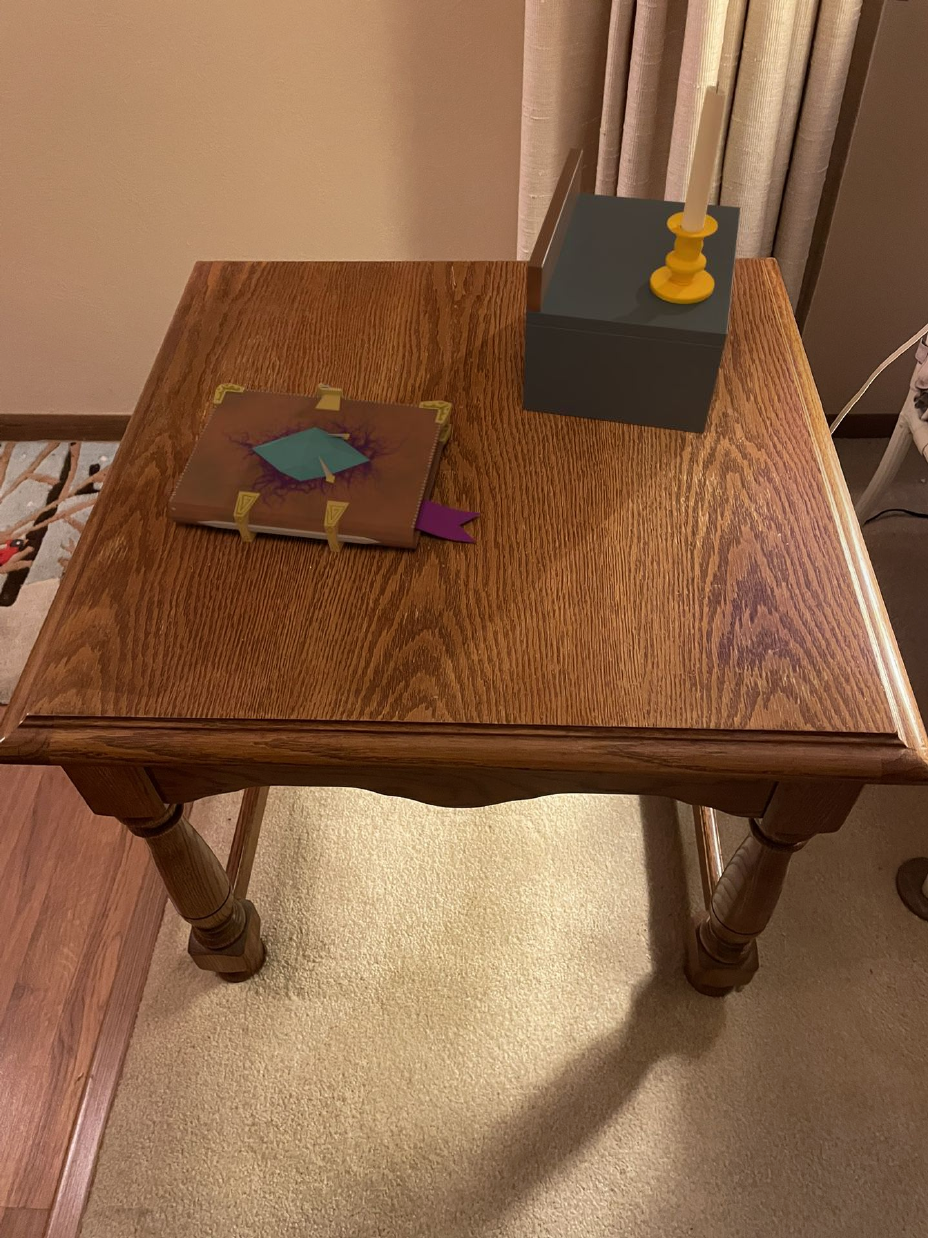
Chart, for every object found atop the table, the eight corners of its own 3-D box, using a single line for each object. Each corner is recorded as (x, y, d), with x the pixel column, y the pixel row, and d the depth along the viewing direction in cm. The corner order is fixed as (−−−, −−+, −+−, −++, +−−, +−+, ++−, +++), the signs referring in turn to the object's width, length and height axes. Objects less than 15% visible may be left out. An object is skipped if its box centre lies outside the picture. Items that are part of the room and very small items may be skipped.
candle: (705, 267, 75) (746, 63, 63) (719, 302, 72) (765, 94, 59) (644, 271, 75) (673, 67, 62) (655, 306, 72) (688, 98, 59)
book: (472, 573, 69) (469, 531, 65) (172, 539, 72) (152, 497, 68) (502, 428, 78) (502, 383, 74) (235, 403, 81) (221, 359, 77)
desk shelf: (719, 304, 89) (750, 162, 78) (703, 433, 77) (738, 287, 66) (561, 287, 91) (570, 147, 80) (522, 409, 80) (527, 265, 69)
